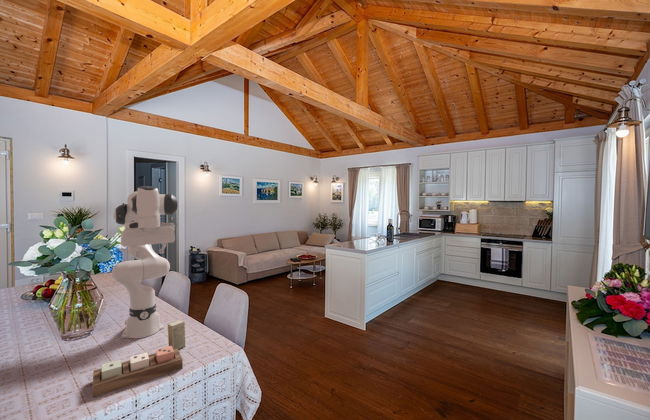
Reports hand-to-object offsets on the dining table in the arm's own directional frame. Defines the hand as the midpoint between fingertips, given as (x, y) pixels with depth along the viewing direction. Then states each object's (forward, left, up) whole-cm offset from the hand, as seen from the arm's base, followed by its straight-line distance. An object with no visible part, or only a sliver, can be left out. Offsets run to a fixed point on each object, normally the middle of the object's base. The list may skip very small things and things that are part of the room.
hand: (149, 254), depth 126 cm
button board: (+11, -5, -46) cm, 48 cm away
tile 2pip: (+11, -5, -45) cm, 46 cm away
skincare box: (-3, +11, -47) cm, 48 cm away
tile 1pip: (+11, -14, -44) cm, 48 cm away
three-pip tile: (+11, +4, -45) cm, 46 cm away
